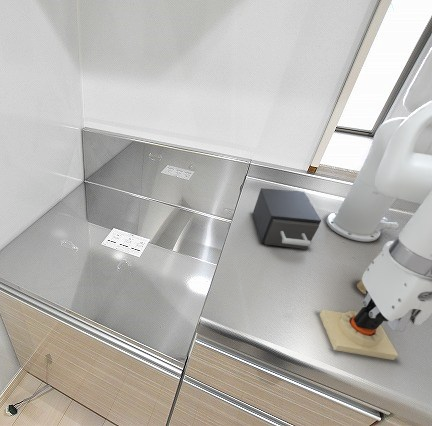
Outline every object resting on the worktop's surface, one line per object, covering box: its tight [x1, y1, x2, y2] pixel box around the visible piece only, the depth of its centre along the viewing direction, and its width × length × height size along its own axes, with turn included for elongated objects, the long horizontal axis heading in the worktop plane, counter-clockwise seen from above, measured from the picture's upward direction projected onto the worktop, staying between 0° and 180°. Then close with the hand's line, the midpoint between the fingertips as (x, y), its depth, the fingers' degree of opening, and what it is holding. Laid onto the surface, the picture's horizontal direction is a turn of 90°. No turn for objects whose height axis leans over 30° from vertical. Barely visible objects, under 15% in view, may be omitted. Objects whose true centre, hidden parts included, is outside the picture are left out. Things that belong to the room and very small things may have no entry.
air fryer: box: [252, 187, 322, 245], centre depth 82 cm, size 14×12×10 cm
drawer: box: [264, 219, 320, 250], centre depth 79 cm, size 17×10×8 cm, turn 168°
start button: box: [350, 317, 375, 336], centre depth 56 cm, size 4×4×2 cm
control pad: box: [318, 309, 399, 361], centre depth 57 cm, size 10×8×4 cm
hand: (364, 324), depth 56 cm, fingers closed
